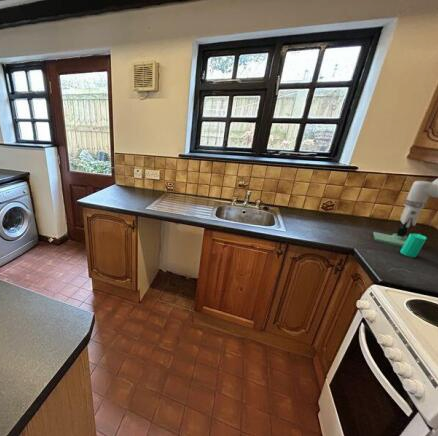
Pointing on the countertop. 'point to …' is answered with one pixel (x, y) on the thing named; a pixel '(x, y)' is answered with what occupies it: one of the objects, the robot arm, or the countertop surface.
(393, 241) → the scale
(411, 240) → the candle
